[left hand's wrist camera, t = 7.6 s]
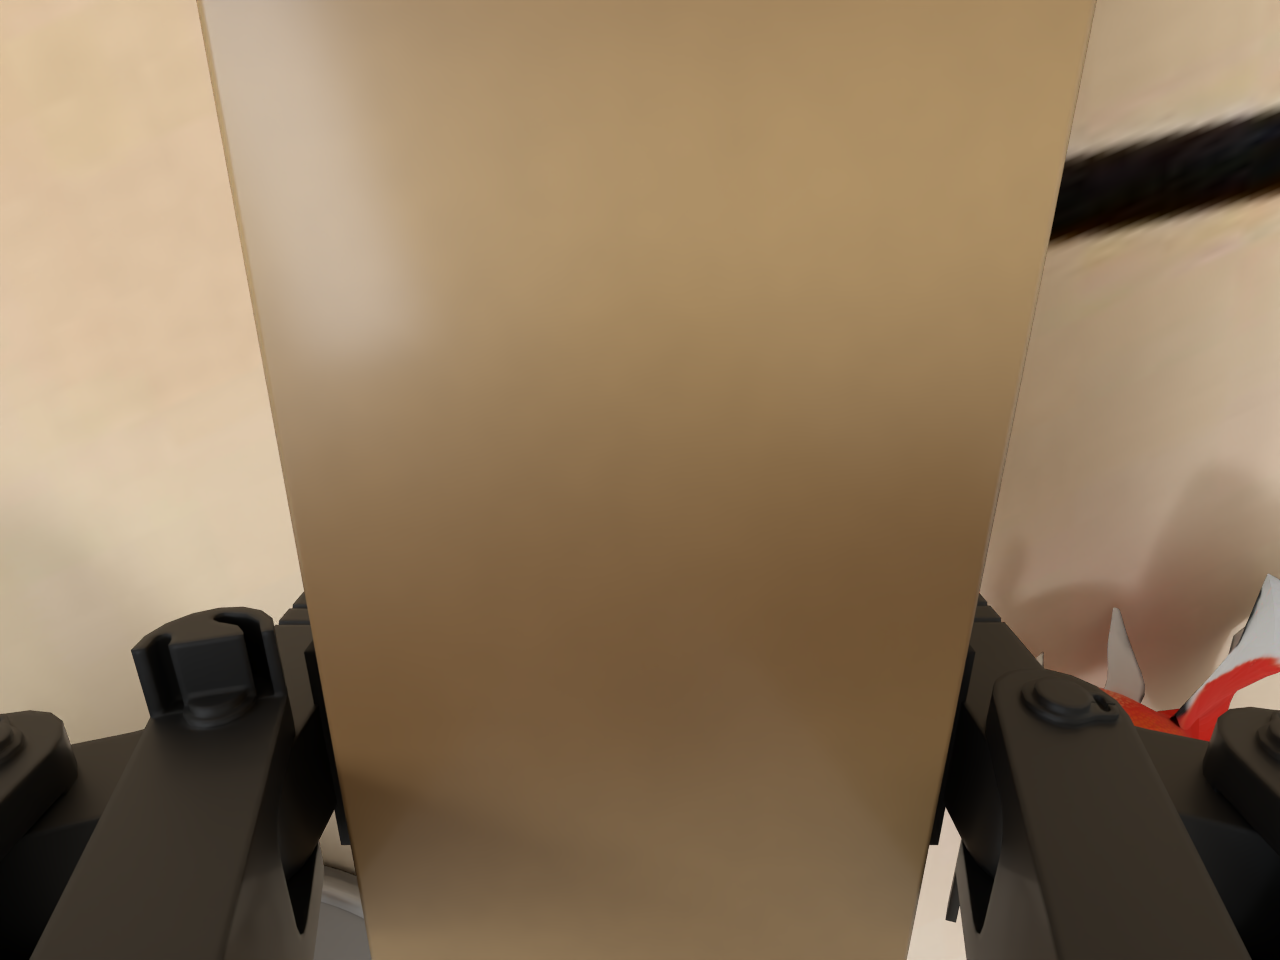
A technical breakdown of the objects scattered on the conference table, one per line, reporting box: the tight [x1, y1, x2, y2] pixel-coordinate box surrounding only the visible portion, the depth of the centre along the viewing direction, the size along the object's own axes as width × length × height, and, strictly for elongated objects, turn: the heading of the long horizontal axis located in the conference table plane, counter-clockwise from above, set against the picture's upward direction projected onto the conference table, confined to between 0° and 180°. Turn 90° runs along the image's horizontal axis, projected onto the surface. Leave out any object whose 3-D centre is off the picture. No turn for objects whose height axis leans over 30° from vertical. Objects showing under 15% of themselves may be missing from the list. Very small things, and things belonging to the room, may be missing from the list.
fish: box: [1036, 574, 1280, 741], centre depth 25 cm, size 11×16×10 cm
